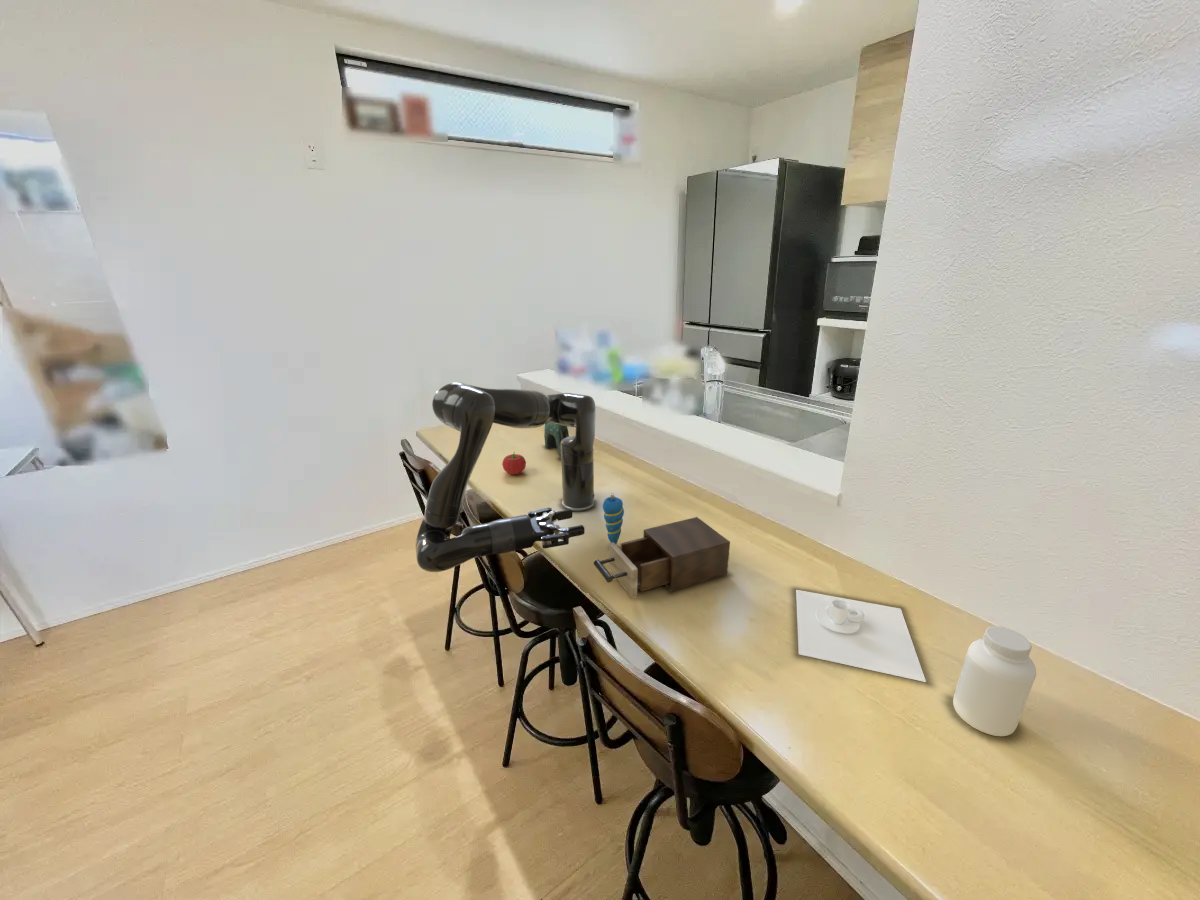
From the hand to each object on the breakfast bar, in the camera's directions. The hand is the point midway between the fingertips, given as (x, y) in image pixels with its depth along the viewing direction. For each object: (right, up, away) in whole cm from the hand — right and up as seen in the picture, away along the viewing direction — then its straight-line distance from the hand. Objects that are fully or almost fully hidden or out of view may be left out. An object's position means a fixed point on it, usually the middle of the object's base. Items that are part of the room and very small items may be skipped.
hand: (577, 521), depth 116 cm
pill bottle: (+65, -25, -40) cm, 80 cm away
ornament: (+9, -8, +7) cm, 13 cm away
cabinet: (+25, -11, -2) cm, 27 cm away
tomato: (-24, +9, +52) cm, 57 cm away
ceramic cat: (-11, +16, +70) cm, 73 cm away
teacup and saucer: (+54, -18, -22) cm, 61 cm away
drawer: (+14, -12, -7) cm, 19 cm away
